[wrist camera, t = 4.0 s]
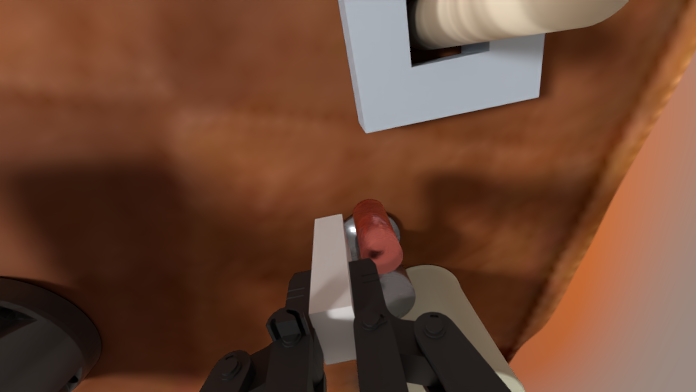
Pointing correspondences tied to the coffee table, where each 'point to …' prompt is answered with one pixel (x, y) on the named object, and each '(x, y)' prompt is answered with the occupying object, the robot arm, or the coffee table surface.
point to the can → (455, 317)
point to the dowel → (498, 19)
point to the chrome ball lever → (384, 255)
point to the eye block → (429, 69)
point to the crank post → (353, 236)
